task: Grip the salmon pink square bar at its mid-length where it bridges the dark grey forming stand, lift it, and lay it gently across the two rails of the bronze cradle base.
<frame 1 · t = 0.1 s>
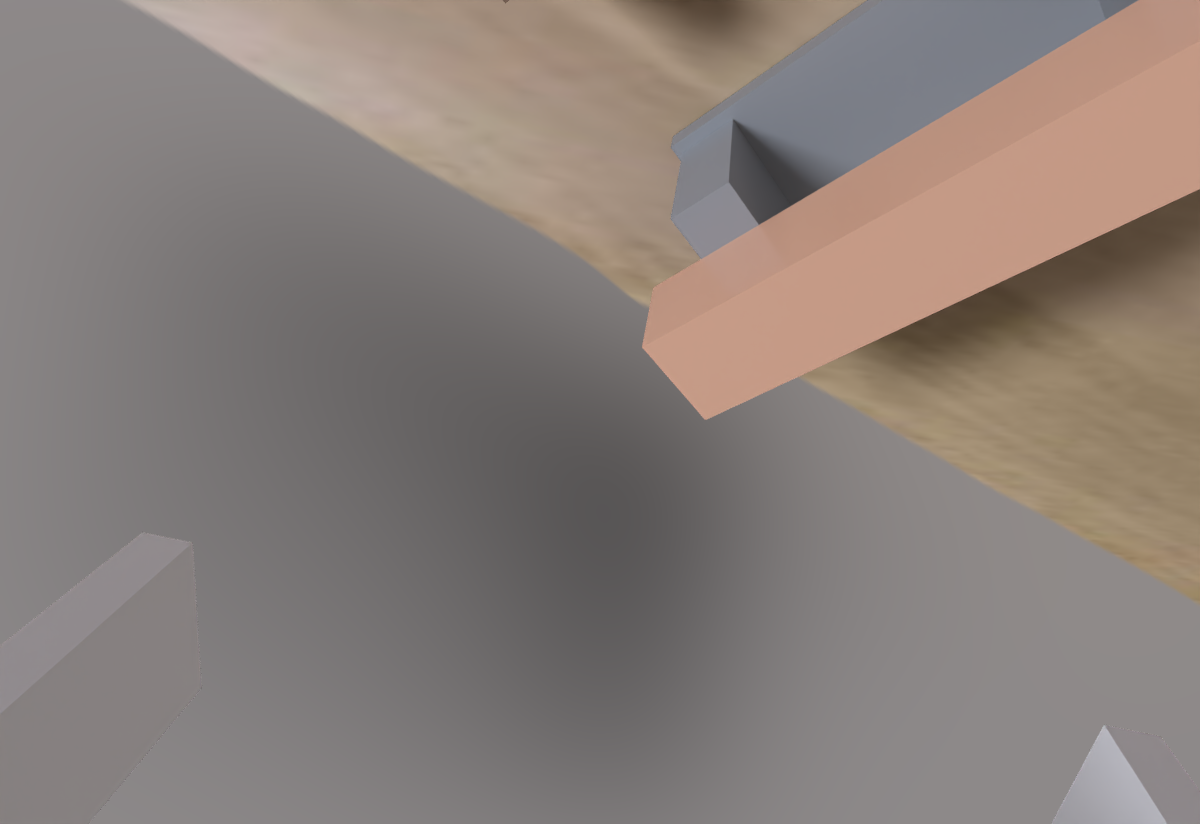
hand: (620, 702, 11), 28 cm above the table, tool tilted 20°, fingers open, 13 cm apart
forming stand: (920, 98, 31), on the table
salmon pink square bar: (954, 173, 26), point 7 cm above the table, touching forming stand
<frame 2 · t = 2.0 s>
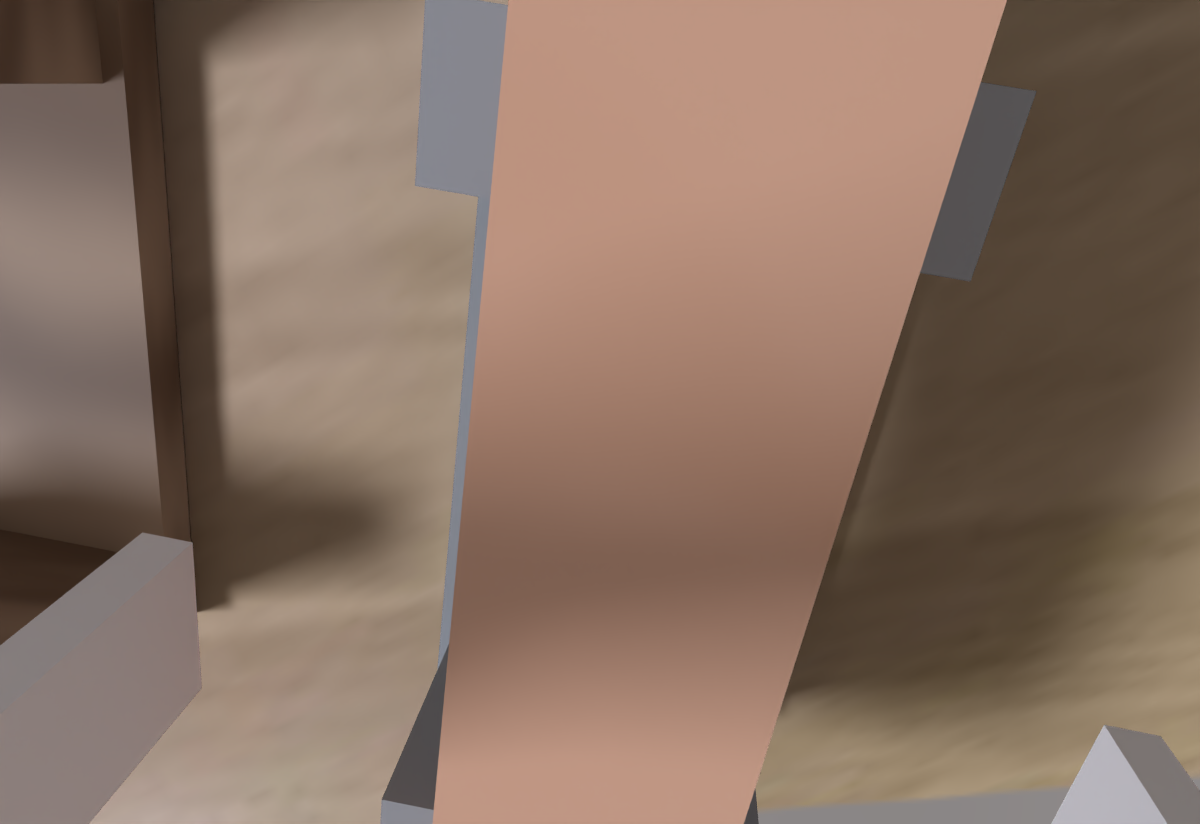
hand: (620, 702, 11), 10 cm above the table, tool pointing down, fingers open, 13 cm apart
forming stand: (642, 424, 20), on the table
bronze cradle base: (14, 310, 21), on the table
salmon pink square bar: (619, 590, 14), point 7 cm above the table, touching forming stand
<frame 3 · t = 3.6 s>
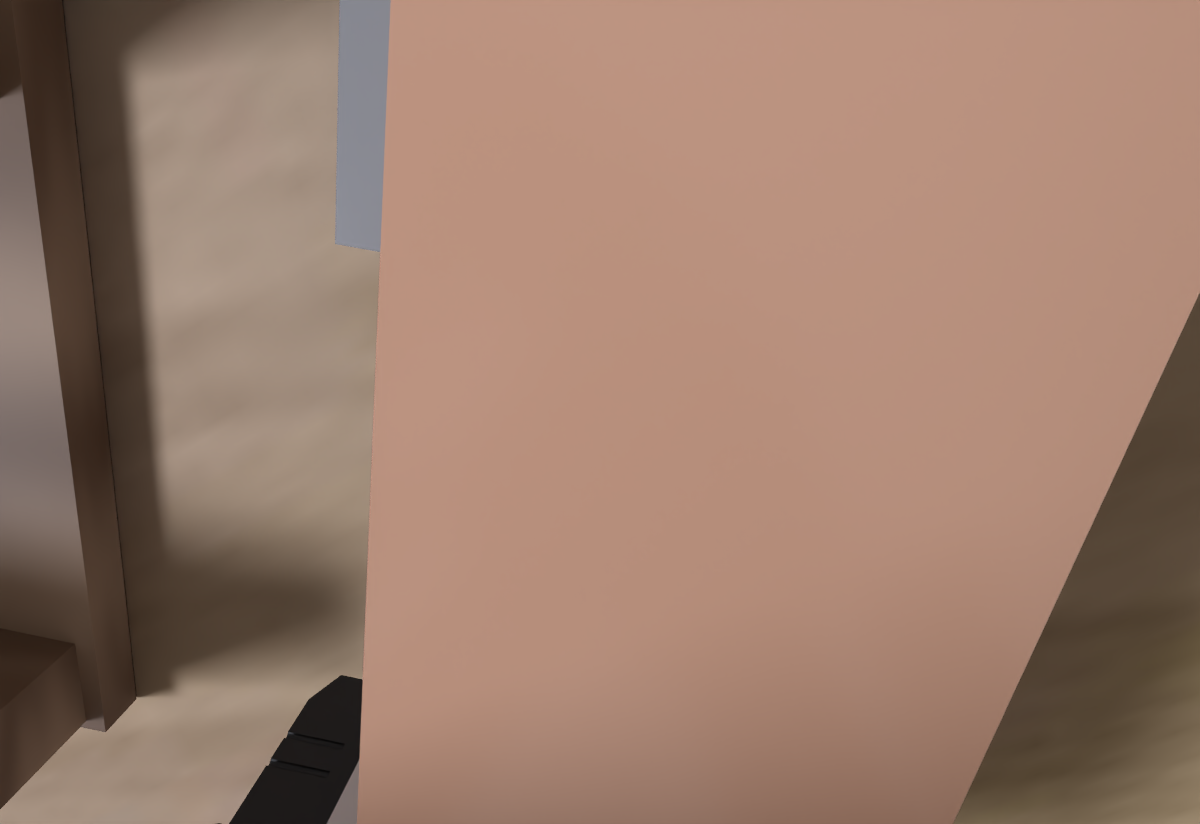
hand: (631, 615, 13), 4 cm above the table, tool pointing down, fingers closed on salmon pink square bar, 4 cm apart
forming stand: (646, 499, 17), on the table
salmon pink square bar: (613, 755, 11), point 7 cm above the table, touching forming stand, gripper
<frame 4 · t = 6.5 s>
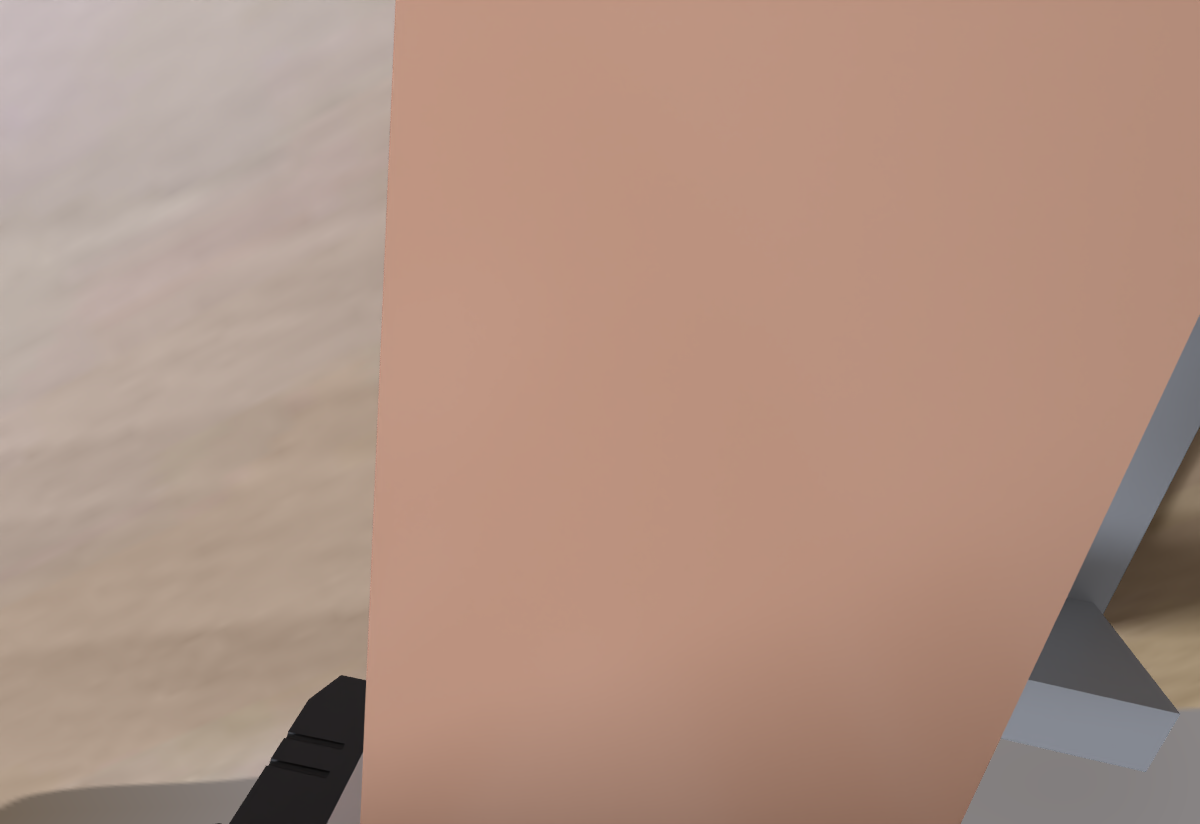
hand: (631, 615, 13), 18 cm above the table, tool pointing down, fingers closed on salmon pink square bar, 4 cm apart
forming stand: (1040, 424, 29), on the table
salmon pink square bar: (615, 759, 11), point 21 cm above the table, touching gripper
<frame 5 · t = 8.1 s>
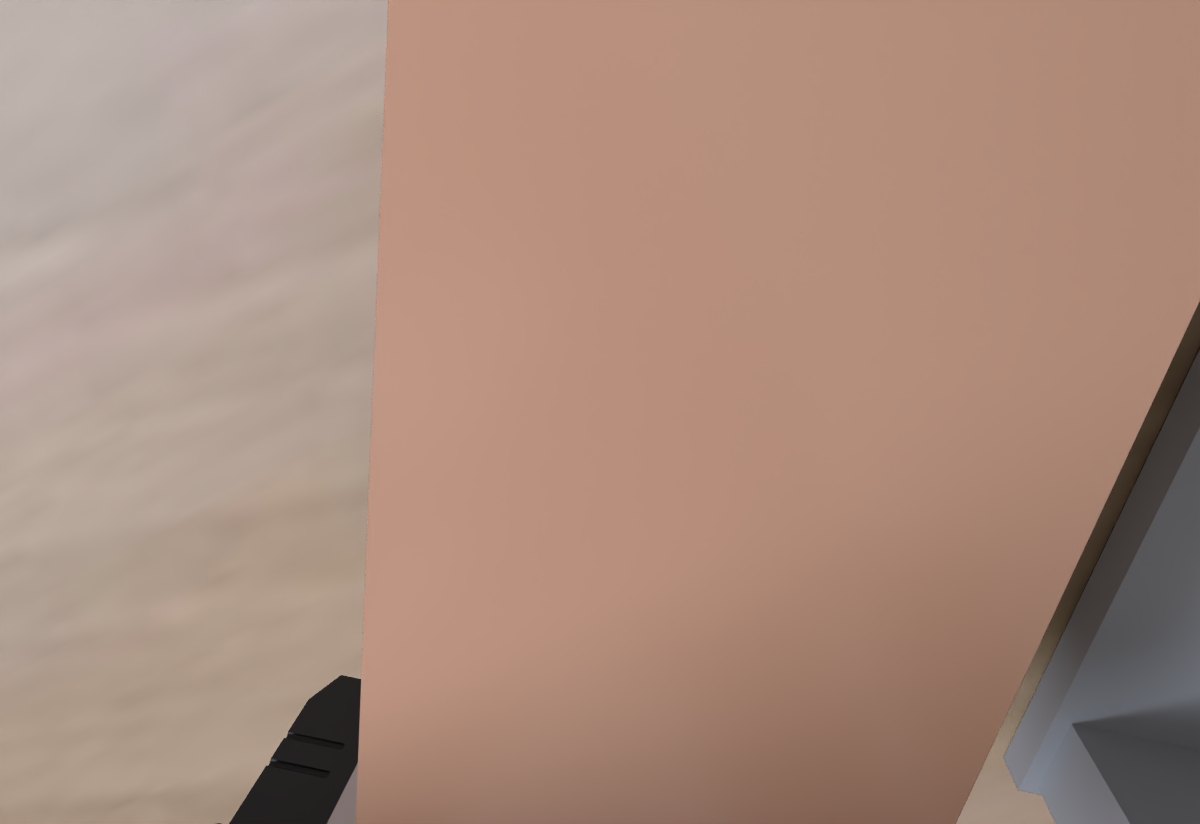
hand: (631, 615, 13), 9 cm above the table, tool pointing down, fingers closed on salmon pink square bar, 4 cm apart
salmon pink square bar: (612, 760, 11), point 12 cm above the table, touching gripper
when the fingers open (5 cm above the table, at t = 9.4 s): salmon pink square bar stays where it is, resting on bronze cradle base.
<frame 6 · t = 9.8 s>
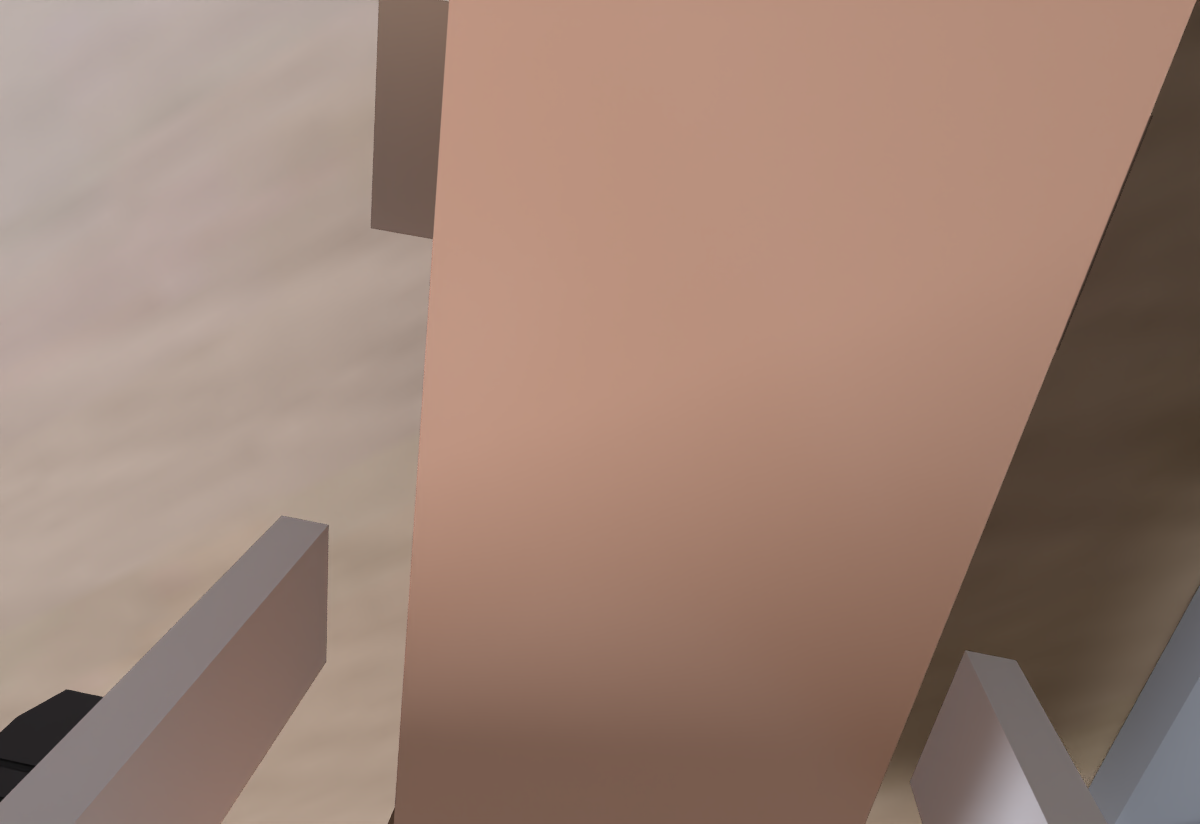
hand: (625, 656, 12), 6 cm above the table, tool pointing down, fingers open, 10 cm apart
bronze cradle base: (648, 478, 18), on the table
salmon pink square bar: (618, 703, 11), point 7 cm above the table, touching bronze cradle base
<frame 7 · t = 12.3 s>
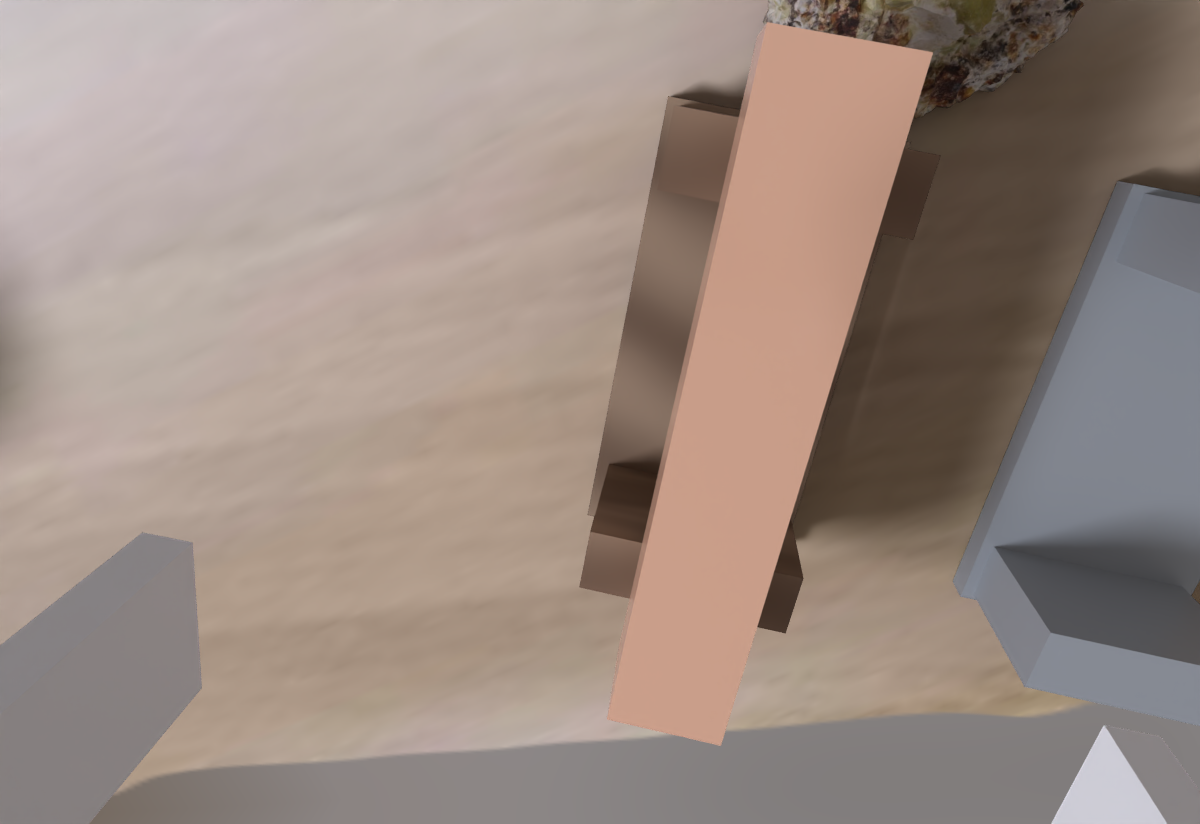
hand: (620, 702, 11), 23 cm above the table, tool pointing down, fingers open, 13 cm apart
forming stand: (1136, 424, 32), on the table
bronze cradle base: (730, 341, 33), on the table
salmon pink square bar: (735, 400, 27), point 7 cm above the table, touching bronze cradle base
mineral rock: (906, 14, 29), on the table
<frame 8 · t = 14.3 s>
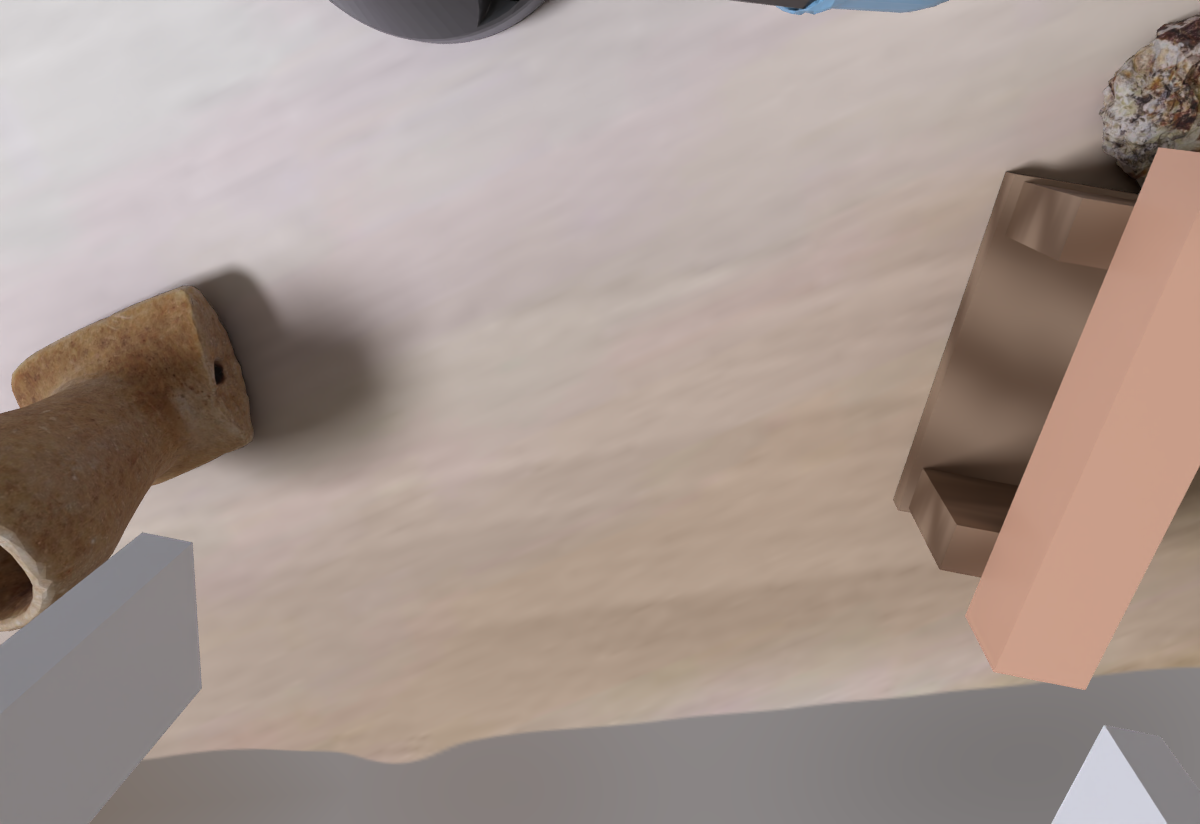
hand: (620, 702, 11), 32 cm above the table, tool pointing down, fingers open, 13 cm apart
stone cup: (163, 405, 48), on the table
bronze cradle base: (1032, 365, 40), on the table
salmon pink square bar: (1096, 419, 34), point 7 cm above the table, touching bronze cradle base
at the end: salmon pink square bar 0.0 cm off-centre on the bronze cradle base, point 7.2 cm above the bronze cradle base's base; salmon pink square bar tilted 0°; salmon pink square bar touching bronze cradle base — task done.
